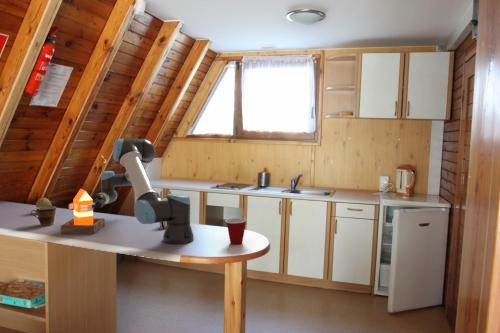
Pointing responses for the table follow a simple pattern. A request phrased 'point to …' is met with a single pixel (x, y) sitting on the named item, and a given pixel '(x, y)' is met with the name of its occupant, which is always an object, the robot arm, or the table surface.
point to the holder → (82, 227)
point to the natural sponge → (43, 202)
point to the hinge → (163, 224)
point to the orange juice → (82, 209)
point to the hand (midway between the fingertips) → (78, 207)
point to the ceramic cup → (45, 215)
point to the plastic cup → (236, 230)
